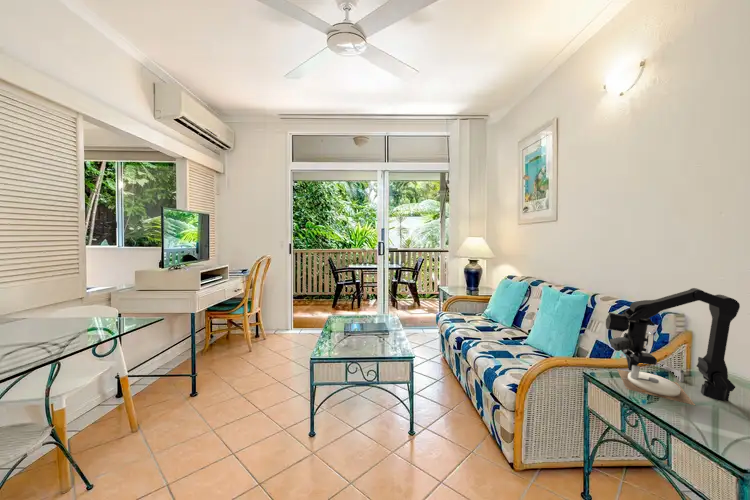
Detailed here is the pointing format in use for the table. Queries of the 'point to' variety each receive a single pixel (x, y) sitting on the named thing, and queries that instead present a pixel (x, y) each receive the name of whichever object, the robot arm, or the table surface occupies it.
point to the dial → (653, 383)
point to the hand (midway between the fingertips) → (630, 370)
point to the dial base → (681, 398)
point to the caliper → (676, 372)
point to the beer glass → (650, 342)
